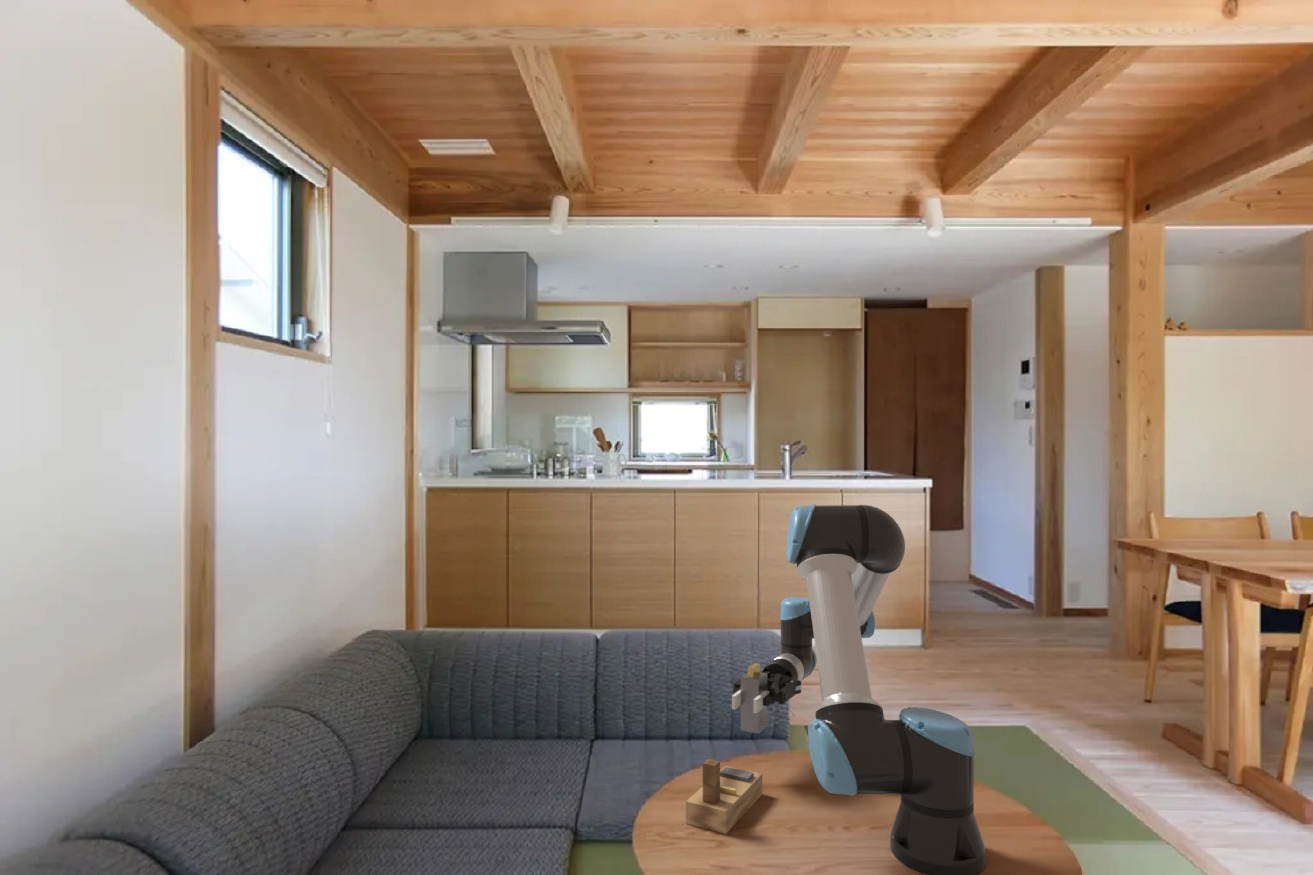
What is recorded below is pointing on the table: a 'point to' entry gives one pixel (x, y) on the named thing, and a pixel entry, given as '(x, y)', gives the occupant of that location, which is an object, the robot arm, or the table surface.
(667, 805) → the table surface
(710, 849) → the table surface
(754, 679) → the grey metal pillar
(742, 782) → the body
